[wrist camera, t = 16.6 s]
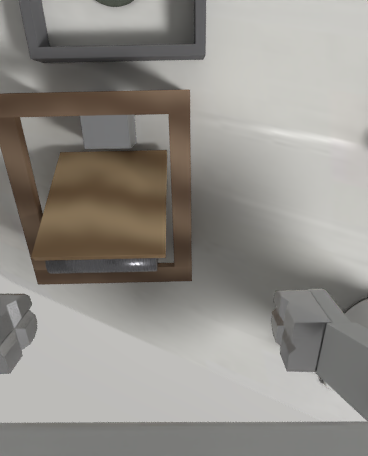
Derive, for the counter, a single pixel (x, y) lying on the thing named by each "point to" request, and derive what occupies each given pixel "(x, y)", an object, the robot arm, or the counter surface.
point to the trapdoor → (105, 213)
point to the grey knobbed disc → (115, 2)
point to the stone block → (108, 131)
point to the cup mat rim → (47, 54)
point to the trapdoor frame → (91, 106)
